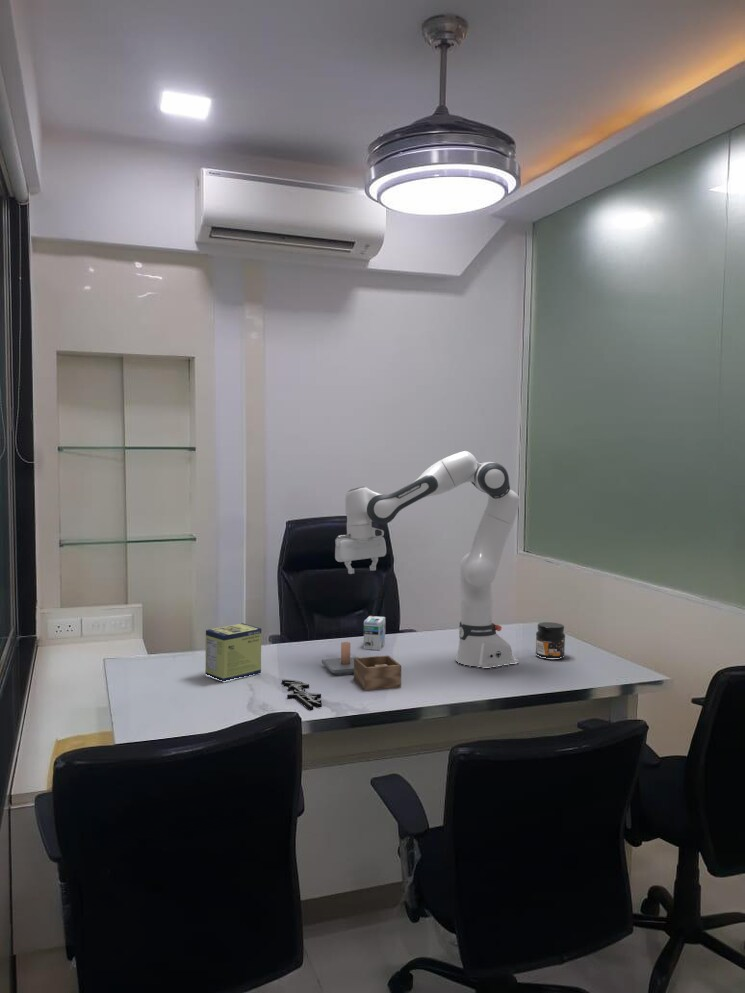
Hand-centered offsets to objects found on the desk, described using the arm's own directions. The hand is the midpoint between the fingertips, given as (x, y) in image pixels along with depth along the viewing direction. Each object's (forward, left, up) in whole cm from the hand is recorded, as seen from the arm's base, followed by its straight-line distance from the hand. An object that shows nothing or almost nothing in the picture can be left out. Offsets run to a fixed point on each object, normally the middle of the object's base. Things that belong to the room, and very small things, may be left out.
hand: (362, 572), depth 268 cm
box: (+3, +26, -32) cm, 41 cm away
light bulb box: (-11, -18, -32) cm, 39 cm away
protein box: (+46, +5, -32) cm, 56 cm away
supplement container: (-69, +13, -32) cm, 77 cm away
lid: (+8, +9, -32) cm, 34 cm away
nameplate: (+29, +31, -33) cm, 54 cm away
